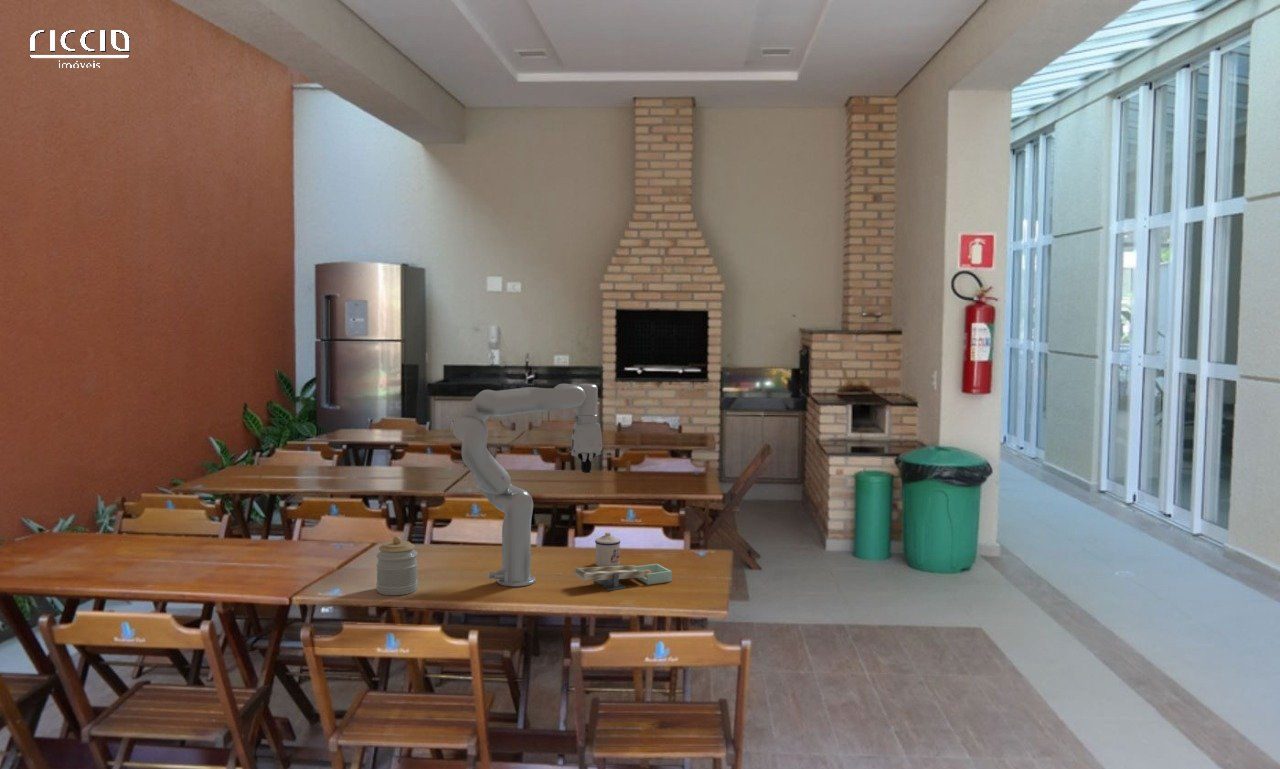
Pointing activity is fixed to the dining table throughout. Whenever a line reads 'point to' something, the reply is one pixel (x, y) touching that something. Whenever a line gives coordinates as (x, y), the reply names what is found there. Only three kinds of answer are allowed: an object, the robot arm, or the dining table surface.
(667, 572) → the tray
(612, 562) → the teacup with lid
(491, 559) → the dining table surface
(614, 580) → the fulcrum
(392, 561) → the jar
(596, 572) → the lever
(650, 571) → the ball
